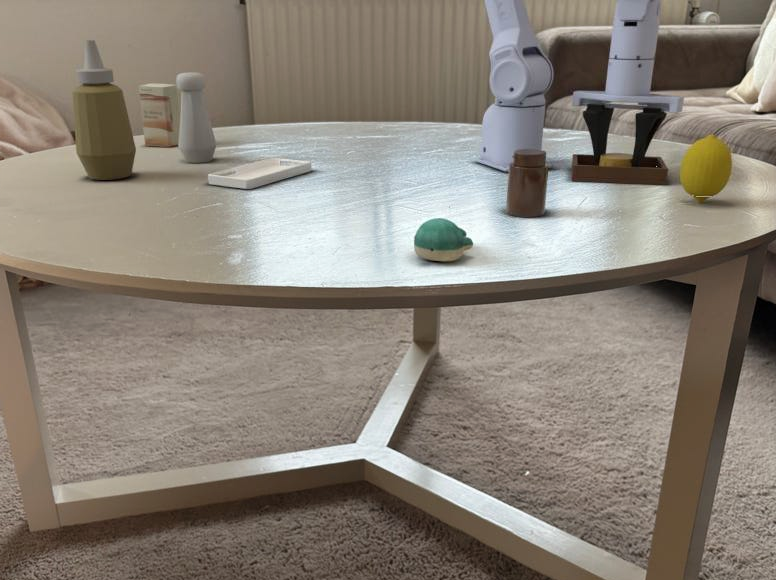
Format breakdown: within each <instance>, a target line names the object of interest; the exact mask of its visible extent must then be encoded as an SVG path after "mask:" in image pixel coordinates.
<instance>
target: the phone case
mask: <svg viewBox="0 0 776 580" xmlns="http://www.w3.org/2000/svg"><path fill="white" fill-rule="evenodd" d="M281 162H291V163H301V164H296V165H286V164H285V165H284V164H281ZM312 170H313V168H312V161H309V160H300V159H289V158H282V157H281V158H278V157H270V158H266V159H262V160H258V161H255V162H250V163H245V164H243V165H239V166H235V167H234V166H233V167H231V168H227V169H223V170H219V171H215V172H212V173H209V174H207V178H208V185H213V186H220V187H226V188H227V187H229V188H235V189H236V188H237V189H243V190H251V189H255V188H258V187H259V188H260V187H262V186H265V185H269V184H272V183H275V182H279V181H281V180H282V181H283V180H285V179H289V178H291V177H292V178H293V177H295V176H299V175H302V174H305V173H309V172H311V171H312ZM232 172H234V173H232ZM227 173H232V174H228V175H223V174H227Z"/></svg>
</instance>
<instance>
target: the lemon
mask: <svg viewBox="0 0 776 580" xmlns="http://www.w3.org/2000/svg"><path fill="white" fill-rule="evenodd" d="M732 158H733V157H732V154H731V150H730V147H729V146H728V144H726V143H725V142H724V141H723V140H721V139H719V138H718V137H717V136H716V135H715V134H708V135H707V136H706V137H704V138H701V139H698V140H696V141H695V142H693V143H692V144H691V145H690V146H689V148H688V149H687V150H686V152H685V154H684V157H683V159H682V161H681V165H680V171H679V179H680V184H681V186H682V188H683V190H684V191H685V193H686V194H688V195H689V194H690V195H689V196H691V197H693V198H694V200H695V201H696V203H699V204H702V203H704V202H705V201H706V200H708V199H709V198H711V197H696V196H712V197H715V196H716V195H718V194H719V193H721V192H722V191H723V190H724V189H725V188H726V186H727V185H728V182H729V180H730V178H731V173H732V168H733V159H732ZM692 195H694V196H692ZM714 195H715V196H714Z"/></svg>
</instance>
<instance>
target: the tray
mask: <svg viewBox="0 0 776 580" xmlns="http://www.w3.org/2000/svg"><path fill="white" fill-rule="evenodd" d="M656 166H657V167H656ZM668 174H669V168H668V166H667V165H666V163H665V161H664V160H663V158H662V157H661V156H645V157H644V160H643V163H642V165H641V166H638V167H619V166H599V163H597V162H594V154H586V153H585V154H583V153H581V154H580V153H579V154H578V153H573V154H572V160H571V182H582V183H583V182H585V183H586V182H587V183H609V184H632V185H633V184H634V185H635V184H636V185H656V186H657V185H660V186H666V185H667V180H668Z"/></svg>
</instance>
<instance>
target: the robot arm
mask: <svg viewBox="0 0 776 580" xmlns="http://www.w3.org/2000/svg"><path fill="white" fill-rule="evenodd" d="M662 1H663V0H615V11H614V18H613V22H612V31H611V39H610V47H609V55H608V65H607V73H606V82H605V89H604V90H575V91H573V92H572V93H573V94H572V102H571V103H572V104H571V106H572V107H585V110H582V118H583V119H584V122H585V124H586V127H587V129H588V132H589V136H590V140H591V145H592V153H593V154H592V155H594V162H597V163H599V162H600V155H602V154H605V153H607V147H608V136H609V131H610V126H611V123H612V122H611V121H612V118H613V114H614V112H615V109H619V110H620V109H621V110H635V111H640V112H637V113H635V116H634V117H635V134H634V135H635V136H634V148H633V153H632V155H633V158H632V167H638V166H641V165H642V163H643V160H644V157H646V154H647V151H648V149H649V148H650V145H651V142H652V140H653V138H654V137H655V135H656V133H657V131H658V130H659V128H660V126H661V125H662V124H663V122H664V121H665V119H666V118H667V115H668V113H669V114H679V113H682V112H683V107H684V101H685V96H683V95H681V96H680V95H671V94H661V93H651V88H652V87H651V86H652V80H653V78H652V77H653V73H654V67H655V65H654V64H655V58H656V51H657V43H658V37H659V30H660V22H661V20H660V14H661V11H662V10H661V9H662ZM484 4H485V9H486V13H487V17H488V21H489V25H490V29H491V33H492V37H493V40H492V43H491V47H490V50H489V53H488V55H489V60H490V61H489V62H490V73H489V79H488V80H489V87H490V91H491V93H492V94H493V95H494V103H492V104H491V105H490V106H488V107H487V109H486V110H485V112H484V115H483V117H482V126H481V141H480V142H481V144H480V157H476V158H474V159H475V160H474V161H475V162H476V163H479V164H483V165H485V166H487V167H491V168H493V169H498V170H499V171H503V172H505V173H506V172H508V173H509V164H510V163H512V162H513V158H512V155H513V154H514V151H515V150H520V149H536V150H542V148H543V137H544V136H543V135H544V127H545V125H544V124H545V115H546V114H545V112H546V103H547V102H546V98H545V94H546V93H547V92H548V90H549V89H550V88H551V87H552V84H553V80H554V68H553V65H552V62H551V61H550V59H549V58H548V57H547V56H546V55H545V53H544V51H543V48H542V45H541V41H540V39H539V38H538V36H537V35H536V33H535V32H534V30H533V29H532V27H531V23H530V19H529V14H528V10H527V4H526V1H525V0H484ZM623 103H624V104H623ZM625 103H627V104H625ZM636 104H637V105H636ZM546 164H548V165H549V169H552V168H553V164H552V163H548V162H546Z"/></svg>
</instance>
